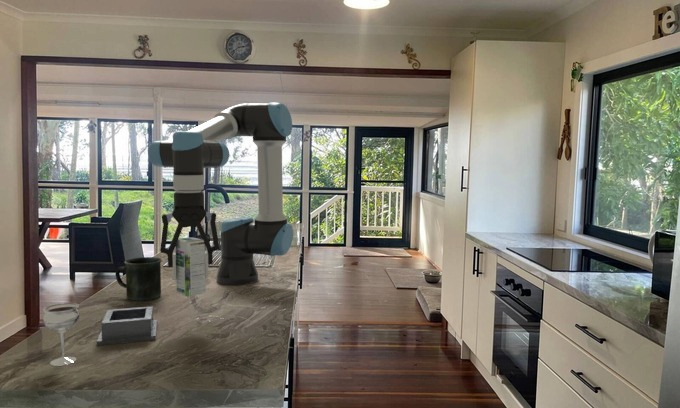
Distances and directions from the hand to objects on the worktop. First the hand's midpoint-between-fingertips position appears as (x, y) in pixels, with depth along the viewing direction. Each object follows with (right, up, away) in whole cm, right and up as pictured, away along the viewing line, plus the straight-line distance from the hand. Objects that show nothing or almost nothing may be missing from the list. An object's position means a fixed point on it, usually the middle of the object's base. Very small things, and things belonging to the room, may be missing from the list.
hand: (190, 277), depth 126 cm
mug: (-26, -11, +28) cm, 39 cm away
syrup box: (0, -4, 0) cm, 4 cm away
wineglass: (-21, -15, -22) cm, 34 cm away
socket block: (-14, -14, -5) cm, 20 cm away
